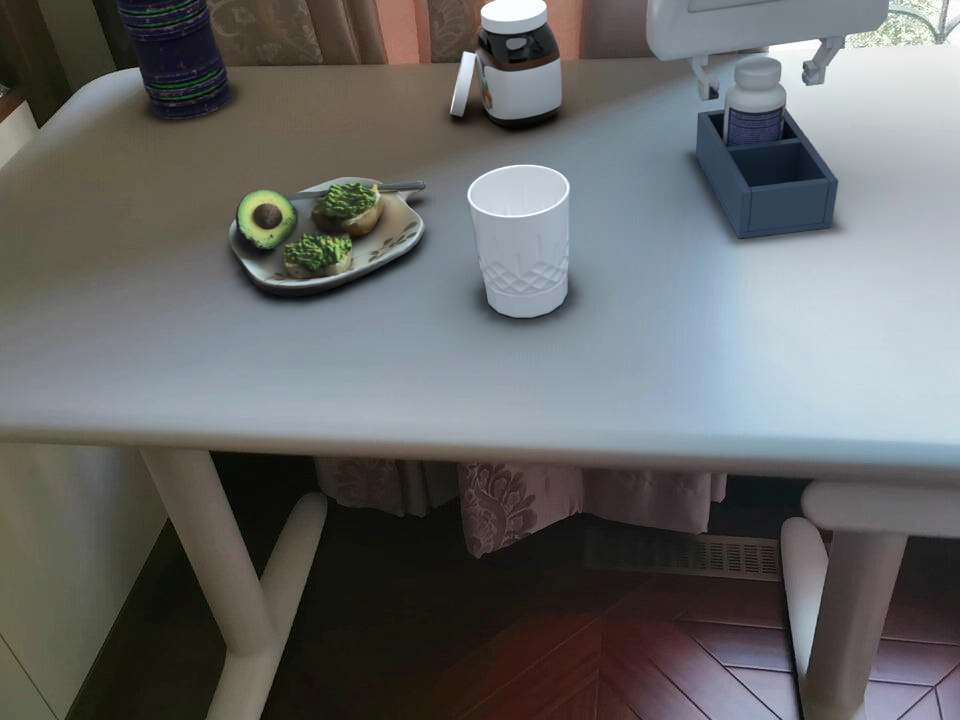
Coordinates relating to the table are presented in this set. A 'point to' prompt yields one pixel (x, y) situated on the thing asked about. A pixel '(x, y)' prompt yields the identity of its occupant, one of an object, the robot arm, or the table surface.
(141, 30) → the storage jar
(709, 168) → the divided storage box
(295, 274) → the avocado toast plate
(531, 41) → the spread jar
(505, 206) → the white cup
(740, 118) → the pill bottle
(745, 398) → the table surface
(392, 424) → the table surface
